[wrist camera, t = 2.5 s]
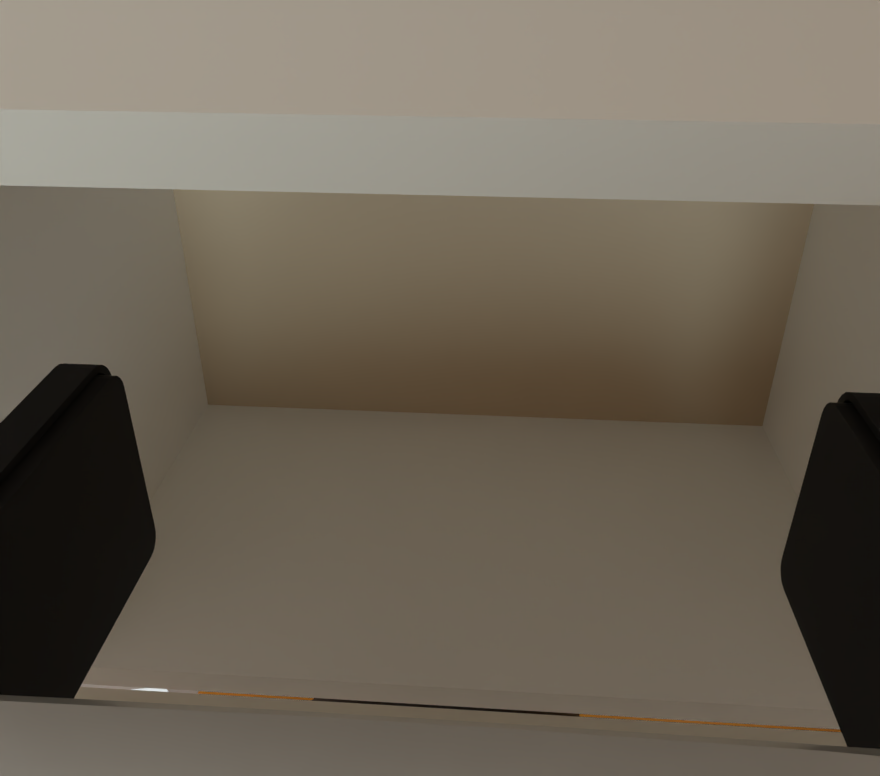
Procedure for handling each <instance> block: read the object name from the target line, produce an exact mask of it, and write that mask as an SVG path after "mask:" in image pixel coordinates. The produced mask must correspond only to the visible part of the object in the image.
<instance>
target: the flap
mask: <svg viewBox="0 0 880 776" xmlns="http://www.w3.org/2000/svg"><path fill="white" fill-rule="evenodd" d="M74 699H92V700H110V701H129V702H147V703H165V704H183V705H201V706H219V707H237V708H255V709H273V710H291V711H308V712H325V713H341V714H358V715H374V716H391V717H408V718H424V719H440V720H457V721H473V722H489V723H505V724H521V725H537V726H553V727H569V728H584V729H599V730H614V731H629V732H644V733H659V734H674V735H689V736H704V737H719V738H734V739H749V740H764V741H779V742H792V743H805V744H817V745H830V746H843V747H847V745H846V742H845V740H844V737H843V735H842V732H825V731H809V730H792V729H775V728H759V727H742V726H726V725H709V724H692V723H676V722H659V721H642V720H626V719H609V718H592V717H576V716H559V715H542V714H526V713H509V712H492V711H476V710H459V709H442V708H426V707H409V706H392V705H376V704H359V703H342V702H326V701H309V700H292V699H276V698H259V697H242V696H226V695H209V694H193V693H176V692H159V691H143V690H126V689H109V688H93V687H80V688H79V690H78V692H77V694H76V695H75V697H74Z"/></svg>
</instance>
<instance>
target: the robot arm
mask: <svg viewBox="0 0 880 776" xmlns="http://www.w3.org/2000/svg"><path fill="white" fill-rule="evenodd" d="M155 541H156V531H155V525H154V520H153V516H152V511H151V506H150V502H149V497H148V493H147V488H146V484H145V479H144V474H143V470H142V465H141V461H140V456H139V452H138V447H137V442H136V438H135V433H134V429H133V424H132V420H131V415H130V410H129V406H128V401H127V397H126V392H125V388H124V384H123V381H122V380H121V378H120V377H118V376H111V373H110V371H109V370H108V368H107V367H106V366H104V365H95V364H67V363H63V364H59V365H57V366H56V367H55V368H54V369H53V370H52V371H51V372H50V373H49V374H48V375H47V376H46V377H45V378H44V379H43V380H42V381H41V382H40V383H39V384H38V385H37V386H36V387H35V388H34V389H33V390H32V391H31V392H30V393H29V394H28V395H27V396H26V397H25V398H24V399H23V400H22V401H21V402H20V403H19V404H18V405H17V406H16V407H15V408H14V409H13V410H12V411H11V413H10V414H9V415H8V416H7V417H6V418H5V419H4V420H3V421H2V422H1V423H0V776H880V393H860V392H845V393H844V394H842V395H841V397H840V398H839V399H838V402H837V403H833V402H829V403H828V404H826V406H825V407H824V409H823V412H822V414H821V418H820V422H819V425H818V429H817V433H816V436H815V440H814V443H813V447H812V451H811V454H810V458H809V462H808V465H807V469H806V472H805V476H804V480H803V483H802V487H801V491H800V494H799V498H798V501H797V505H796V509H795V512H794V516H793V520H792V523H791V527H790V530H789V534H788V538H787V541H786V545H785V549H784V552H783V556H782V560H781V581H782V586H783V589H784V591H785V594H786V596H787V599H788V601H789V604H790V606H791V609H792V611H793V614H794V616H795V619H796V621H797V624H798V626H799V628H800V631H801V633H802V636H803V638H804V641H805V643H806V646H807V648H808V651H809V653H810V656H811V658H812V661H813V663H814V666H815V668H816V671H817V673H818V675H819V678H820V680H821V683H822V685H823V688H824V690H825V693H826V695H827V698H828V700H829V703H830V705H831V708H832V710H833V713H834V715H835V718H836V720H837V722H838V725H839V727H840V730H841V732H842V735H843V737H844V740H845V742H846V745H847V747H843V746H830V745H817V744H805V743H792V742H779V741H764V740H749V739H734V738H719V737H704V736H689V735H674V734H659V733H644V732H629V731H614V730H599V729H584V728H569V727H553V726H537V725H521V724H505V723H489V722H473V721H457V720H440V719H424V718H408V717H391V716H374V715H358V714H341V713H325V712H308V711H291V710H273V709H255V708H237V707H219V706H201V705H183V704H165V703H147V702H129V701H110V700H92V699H74V697H75V695H76V694H77V692H78V690H79V688H80V686H81V684H82V683H83V681H84V679H85V677H86V675H87V673H88V672H89V670H90V668H91V666H92V664H93V663H94V661H95V659H96V657H97V655H98V653H99V652H100V650H101V648H102V646H103V644H104V642H105V641H106V639H107V637H108V635H109V633H110V631H111V630H112V628H113V626H114V624H115V622H116V620H117V619H118V617H119V615H120V613H121V611H122V609H123V608H124V606H125V604H126V602H127V600H128V598H129V597H130V595H131V593H132V591H133V589H134V587H135V586H136V584H137V582H138V580H139V578H140V577H141V575H142V573H143V571H144V569H145V567H146V566H147V564H148V562H149V560H150V558H151V556H152V554H153V551H154V547H155Z"/></svg>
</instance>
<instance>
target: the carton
mask: <svg viewBox="0 0 880 776" xmlns="http://www.w3.org/2000/svg"><path fill="white" fill-rule="evenodd" d="M63 363H67V364H95V365H104V366H106V367H107V368H108V370H109V371H110V373H111V376H118V377H120V378H121V380H122V381H123V384H124V388H125V392H126V397H127V401H128V406H129V410H130V415H131V420H132V424H133V429H134V433H135V438H136V442H137V447H138V452H139V456H140V461H141V465H142V470H143V474H144V479H145V484H146V488H147V493H148V497H149V502H150V506H151V511H152V516H153V520H154V525H155V531H156V541H155V547H154V551H153V554H152V556H151V558H150V560H149V562H148V564H147V566H146V567H145V569H144V571H143V573H142V575H141V577H140V578H139V580H138V582H137V584H136V586H135V587H134V589H133V591H132V593H131V595H130V597H129V598H128V600H127V602H126V604H125V606H124V608H123V609H122V611H121V613H120V615H119V617H118V619H117V620H116V622H115V624H114V626H113V628H112V630H111V631H110V633H109V635H108V637H107V639H106V641H105V642H104V644H103V646H102V648H101V650H100V652H99V653H98V655H97V657H96V659H95V661H94V663H93V664H92V666H91V668H90V670H89V672H88V673H87V675H86V677H85V679H84V681H83V683H82V684H90V685H107V686H124V687H140V688H157V689H174V690H190V691H207V692H224V693H241V694H257V695H274V696H291V697H307V698H324V699H341V700H358V701H374V702H391V703H408V704H424V705H441V706H458V707H475V708H491V709H508V710H525V711H541V712H558V713H575V714H592V715H608V716H625V717H642V718H658V719H675V720H692V721H709V722H725V723H742V724H759V725H775V726H792V727H809V728H826V729H840V727H839V725H838V722H837V720H836V718H835V715H834V713H833V710H832V708H831V705H830V703H829V700H828V698H827V695H826V693H825V690H824V688H823V685H822V683H821V680H820V678H819V675H818V673H817V671H816V668H815V666H814V663H813V661H812V658H811V656H810V653H809V651H808V648H807V646H806V643H805V641H804V638H803V636H802V633H801V631H800V628H799V626H798V624H797V621H796V619H795V616H794V614H793V611H792V609H791V606H790V604H789V601H788V599H787V596H786V594H785V591H784V589H783V586H782V581H781V560H782V556H783V552H784V549H785V545H786V541H787V538H788V534H789V530H790V527H791V523H792V520H793V516H794V512H795V509H796V505H797V501H798V498H799V494H800V491H801V487H802V483H803V480H804V476H805V472H806V469H807V465H808V462H809V458H810V454H811V451H812V447H813V443H814V440H815V436H816V433H817V429H818V425H819V422H820V418H821V414H822V412H823V409H824V407H825V406H826V404H828V403H829V402H833V403H837V402H838V399H839V398H840V397H841V395H842V394H844V393H845V392H860V393H880V205H842V204H798V203H754V202H710V201H666V200H622V199H577V198H533V197H489V196H445V195H401V194H357V193H313V192H269V191H225V190H181V189H137V188H93V187H49V186H5V185H0V423H1V422H2V421H3V420H4V419H5V418H6V417H7V416H8V415H9V414H10V413H11V411H12V410H13V409H14V408H15V407H16V406H17V405H18V404H19V403H20V402H21V401H22V400H23V399H24V398H25V397H26V396H27V395H28V394H29V393H30V392H31V391H32V390H33V389H34V388H35V387H36V386H37V385H38V384H39V383H40V382H41V381H42V380H43V379H44V378H45V377H46V376H47V375H48V374H49V373H50V372H51V371H52V370H53V369H54V368H55V367H56V366H57V365H59V364H63Z"/></svg>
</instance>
